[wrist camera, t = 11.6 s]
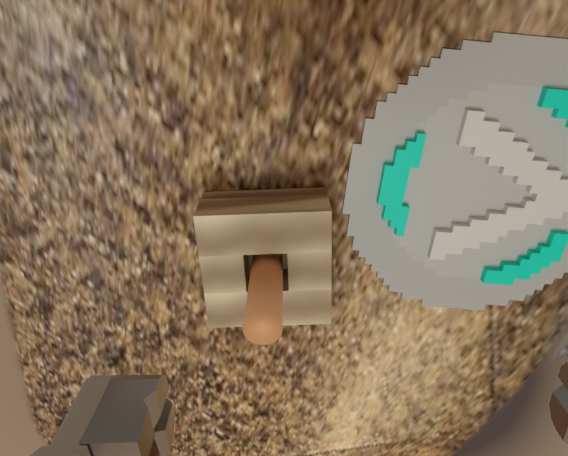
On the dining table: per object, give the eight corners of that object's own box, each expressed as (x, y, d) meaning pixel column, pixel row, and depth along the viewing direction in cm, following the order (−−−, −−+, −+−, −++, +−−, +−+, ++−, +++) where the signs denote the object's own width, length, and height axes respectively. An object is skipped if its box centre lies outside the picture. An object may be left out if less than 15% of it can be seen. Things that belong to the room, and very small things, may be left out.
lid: (569, 312, 49) (578, 320, 48) (328, 295, 49) (329, 303, 47) (687, 50, 38) (703, 51, 36) (370, 20, 37) (373, 20, 35)
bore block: (204, 191, 43) (193, 216, 37) (325, 187, 42) (331, 211, 37) (217, 293, 48) (209, 327, 42) (325, 289, 47) (331, 323, 42)
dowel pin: (252, 240, 43) (241, 313, 32) (282, 238, 43) (281, 312, 32) (254, 266, 44) (244, 345, 33) (283, 265, 44) (283, 344, 33)
